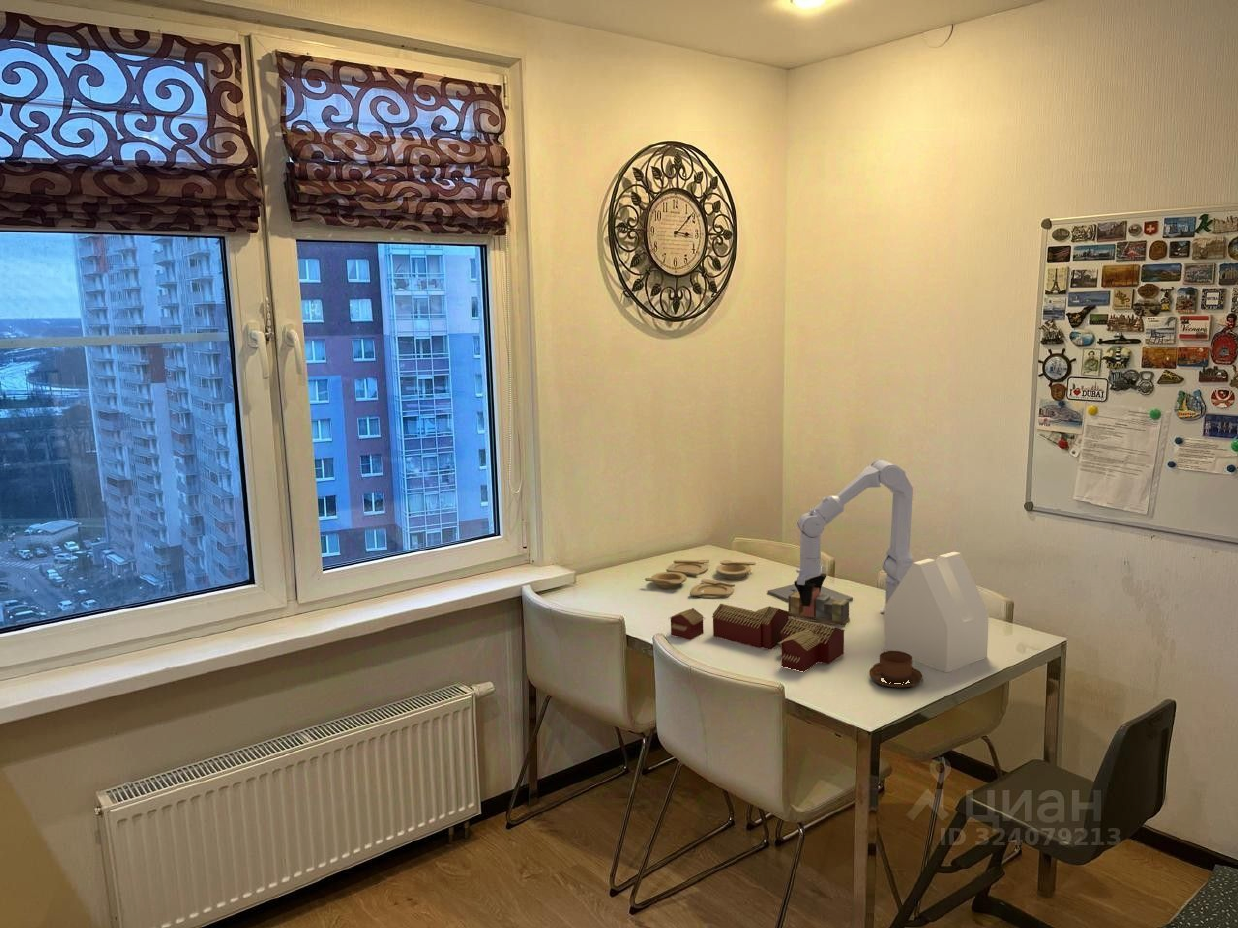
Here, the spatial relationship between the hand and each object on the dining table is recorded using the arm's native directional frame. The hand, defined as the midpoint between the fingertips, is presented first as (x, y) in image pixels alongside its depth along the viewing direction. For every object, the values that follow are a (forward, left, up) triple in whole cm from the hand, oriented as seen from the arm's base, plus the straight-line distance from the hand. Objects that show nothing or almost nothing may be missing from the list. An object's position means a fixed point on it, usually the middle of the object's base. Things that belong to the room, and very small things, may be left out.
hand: (810, 602), depth 256 cm
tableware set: (+44, -15, -5) cm, 47 cm away
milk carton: (-37, +9, -5) cm, 38 cm away
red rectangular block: (0, 0, -3) cm, 3 cm away
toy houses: (+6, +26, -5) cm, 27 cm away
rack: (-2, 0, -4) cm, 5 cm away
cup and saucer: (-34, +30, -5) cm, 46 cm away
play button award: (+7, -16, -5) cm, 18 cm away
